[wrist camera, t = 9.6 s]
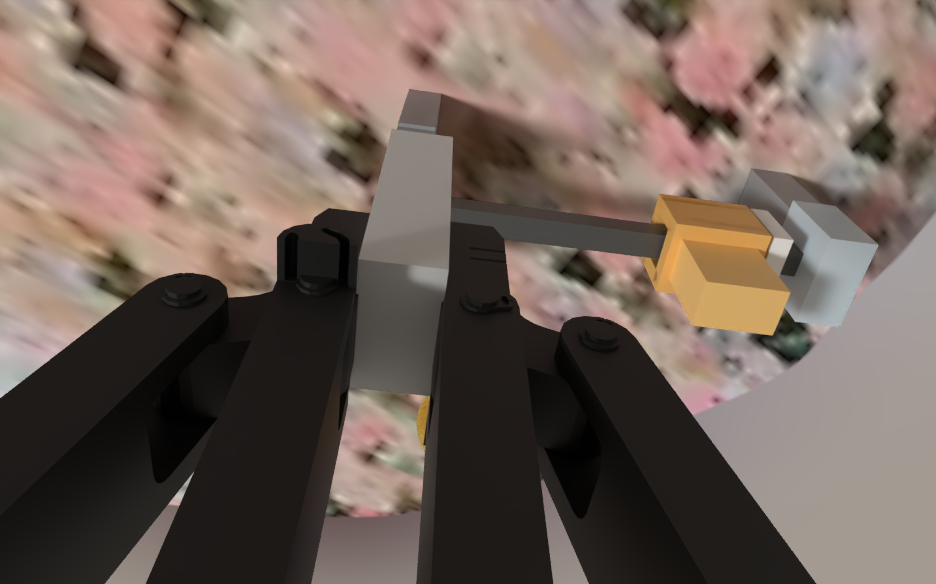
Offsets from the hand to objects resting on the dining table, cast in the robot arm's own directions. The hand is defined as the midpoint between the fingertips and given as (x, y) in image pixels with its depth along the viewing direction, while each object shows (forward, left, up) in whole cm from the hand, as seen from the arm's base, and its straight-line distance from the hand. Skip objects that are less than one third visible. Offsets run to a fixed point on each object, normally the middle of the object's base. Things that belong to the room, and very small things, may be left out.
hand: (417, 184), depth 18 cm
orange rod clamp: (+15, -9, -20) cm, 27 cm away
